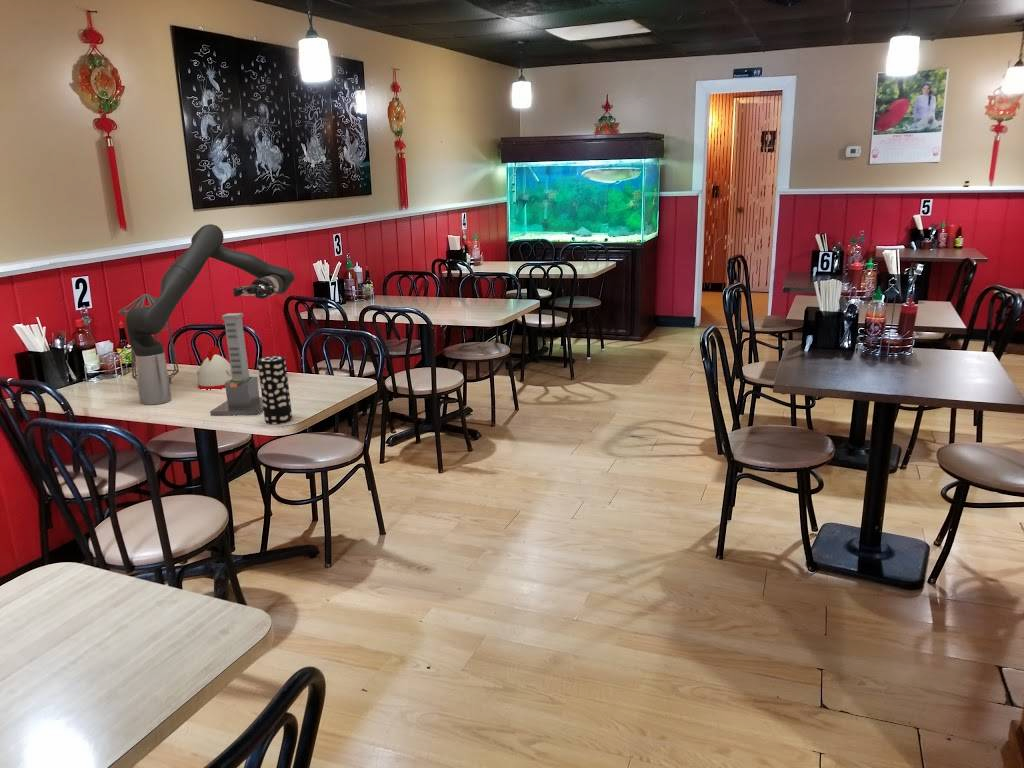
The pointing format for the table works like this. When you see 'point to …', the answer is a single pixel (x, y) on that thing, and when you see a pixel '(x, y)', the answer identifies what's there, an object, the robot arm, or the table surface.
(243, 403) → the stand base
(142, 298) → the geometric lantern
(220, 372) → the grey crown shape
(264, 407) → the white-spotted black cylinder
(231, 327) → the stand post
